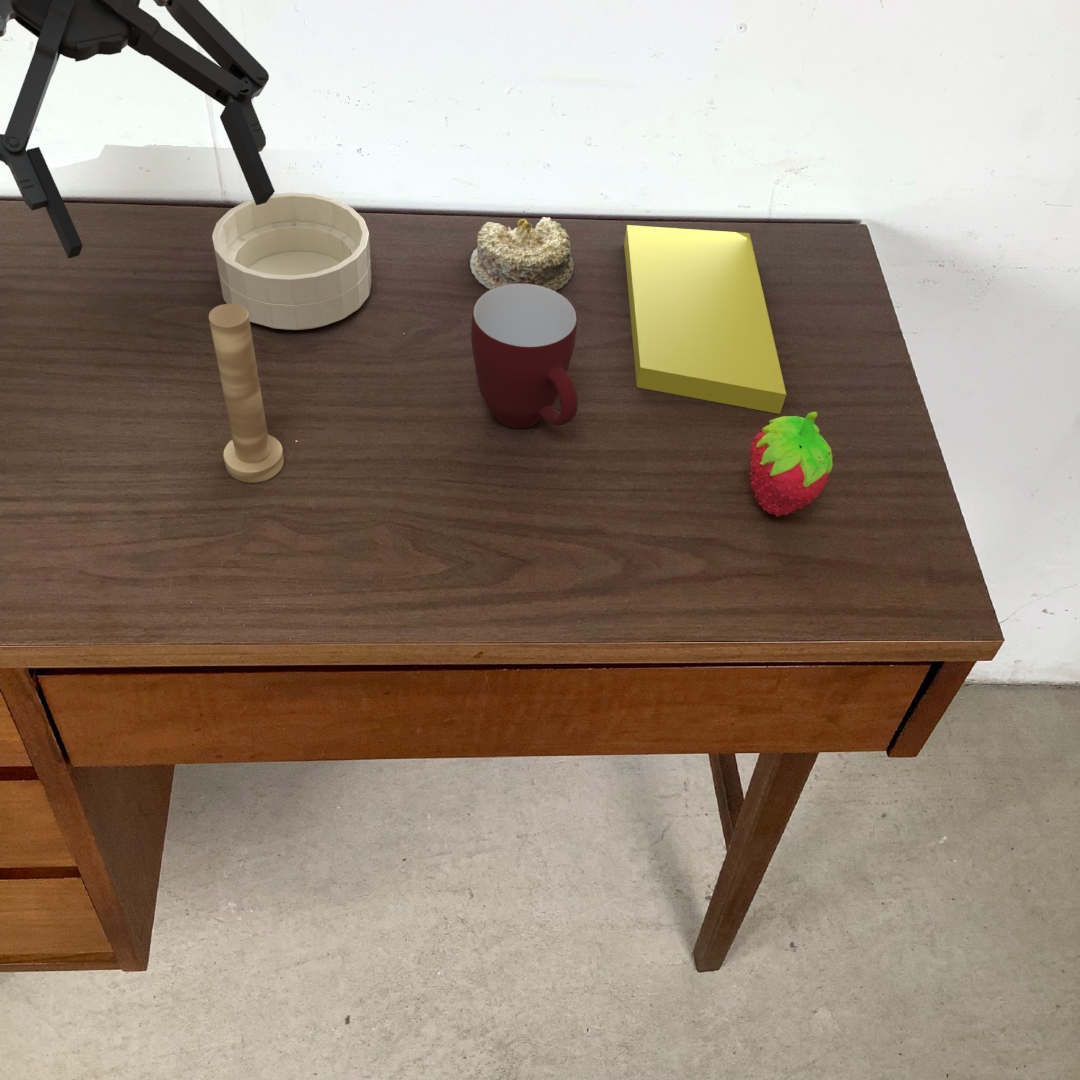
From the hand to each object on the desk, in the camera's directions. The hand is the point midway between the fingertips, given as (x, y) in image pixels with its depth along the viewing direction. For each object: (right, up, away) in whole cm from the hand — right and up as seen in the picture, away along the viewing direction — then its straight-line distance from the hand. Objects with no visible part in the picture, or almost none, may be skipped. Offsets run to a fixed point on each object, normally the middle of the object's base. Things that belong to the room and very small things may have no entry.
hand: (174, 224), depth 73 cm
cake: (+23, +4, +29) cm, 37 cm away
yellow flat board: (+40, -2, +25) cm, 47 cm away
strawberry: (+44, -19, +10) cm, 49 cm away
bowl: (+3, +1, +24) cm, 24 cm away
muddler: (+3, -16, +9) cm, 18 cm away
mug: (+24, -12, +15) cm, 31 cm away
